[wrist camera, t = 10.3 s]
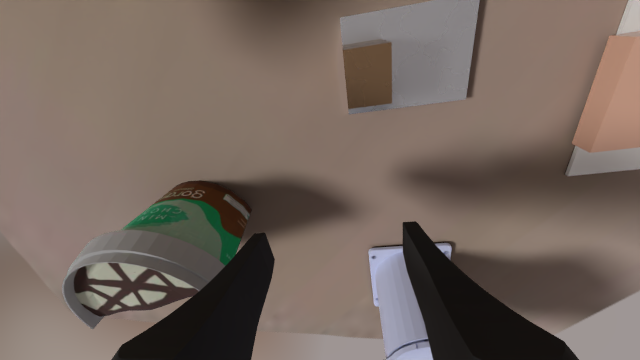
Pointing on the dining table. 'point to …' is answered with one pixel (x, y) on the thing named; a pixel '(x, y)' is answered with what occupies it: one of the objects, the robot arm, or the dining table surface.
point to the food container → (158, 253)
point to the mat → (583, 162)
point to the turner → (408, 54)
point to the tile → (613, 99)
